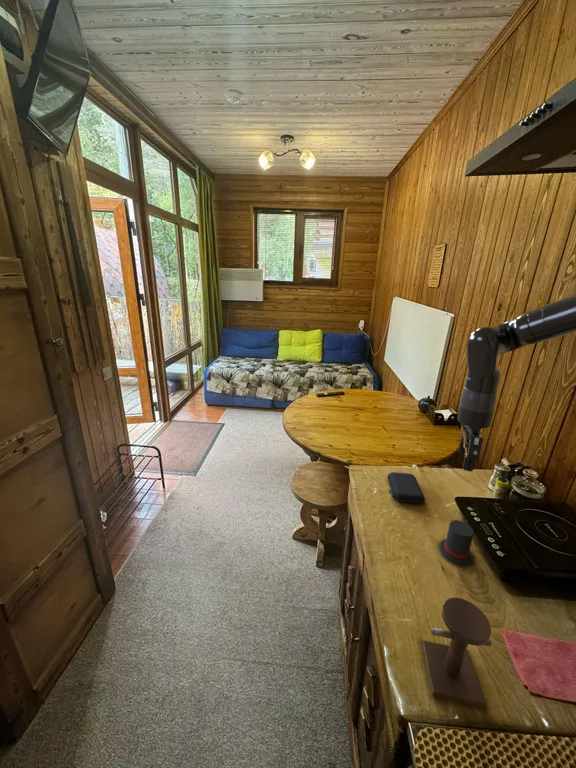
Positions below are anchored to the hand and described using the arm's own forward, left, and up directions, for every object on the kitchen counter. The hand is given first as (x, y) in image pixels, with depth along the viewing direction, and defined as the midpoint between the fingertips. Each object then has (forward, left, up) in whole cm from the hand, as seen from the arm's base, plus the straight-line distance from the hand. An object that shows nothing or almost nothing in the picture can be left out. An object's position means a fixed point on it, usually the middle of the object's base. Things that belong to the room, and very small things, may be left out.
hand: (464, 461), depth 83 cm
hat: (-2, +10, -21) cm, 24 cm away
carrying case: (+15, -9, -21) cm, 27 cm away
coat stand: (-3, +40, -21) cm, 46 cm away
